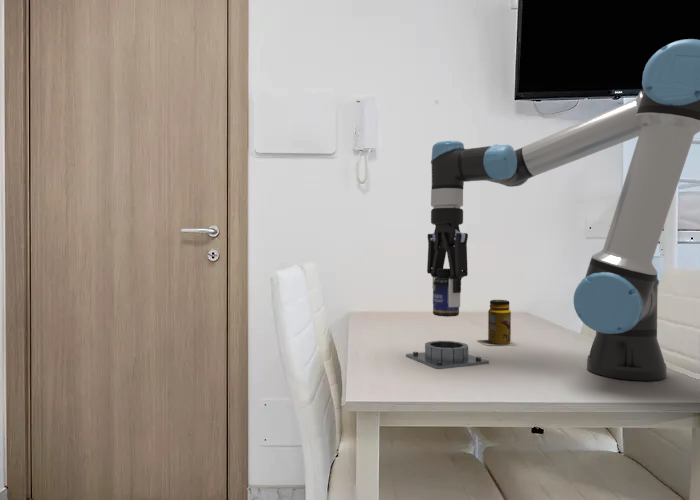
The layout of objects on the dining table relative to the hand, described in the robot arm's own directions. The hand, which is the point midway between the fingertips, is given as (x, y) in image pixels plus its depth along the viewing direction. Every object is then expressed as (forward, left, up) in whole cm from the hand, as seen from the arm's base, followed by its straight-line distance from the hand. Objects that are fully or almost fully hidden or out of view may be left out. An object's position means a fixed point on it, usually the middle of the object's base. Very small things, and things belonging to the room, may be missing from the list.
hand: (446, 305), depth 124 cm
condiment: (+13, -25, -13) cm, 31 cm away
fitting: (0, 0, -13) cm, 13 cm away
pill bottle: (0, 0, -3) cm, 3 cm away
